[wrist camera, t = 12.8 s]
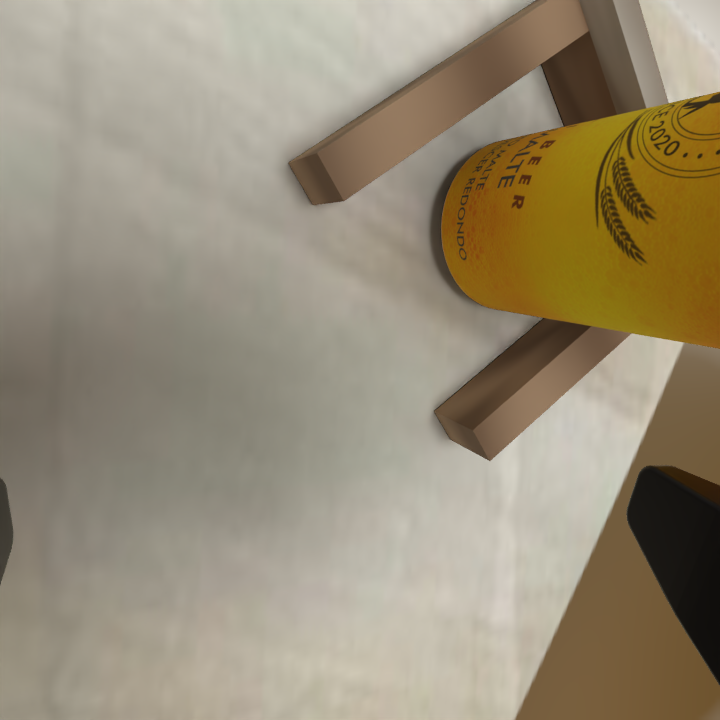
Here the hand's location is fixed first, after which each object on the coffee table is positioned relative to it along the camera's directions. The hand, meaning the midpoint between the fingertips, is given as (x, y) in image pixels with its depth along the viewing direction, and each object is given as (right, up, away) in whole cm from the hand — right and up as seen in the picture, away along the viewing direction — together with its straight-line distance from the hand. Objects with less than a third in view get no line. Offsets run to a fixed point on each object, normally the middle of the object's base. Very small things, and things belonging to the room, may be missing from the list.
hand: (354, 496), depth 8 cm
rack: (+5, +7, +14) cm, 17 cm away
